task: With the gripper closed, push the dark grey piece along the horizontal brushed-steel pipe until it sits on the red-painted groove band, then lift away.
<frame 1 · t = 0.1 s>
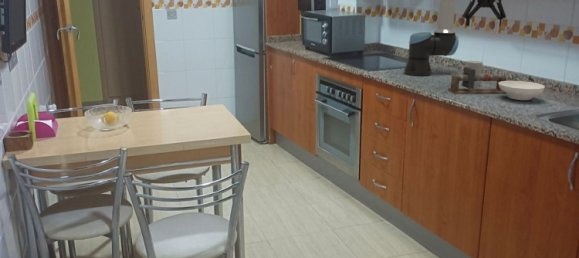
hand: (482, 33, 255), 28 cm above the kitchen counter, fingers open, 13 cm apart
dark grey piece: (468, 77, 259), point 7 cm above the kitchen counter, slide at -5.0 cm
pipe stand: (477, 92, 261), on the kitchen counter
light grey cylindrical piece: (471, 85, 279), on the kitchen counter
bowl: (519, 99, 247), on the kitchen counter
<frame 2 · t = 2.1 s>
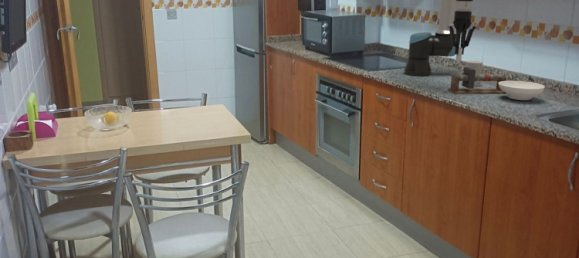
hand: (458, 61, 256), 15 cm above the kitchen counter, fingers closed
nothing on the kitchen counter moved.
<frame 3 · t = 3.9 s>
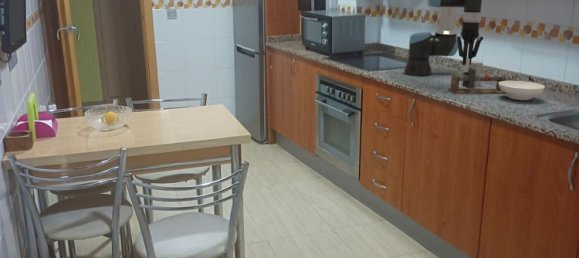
hand: (465, 71, 258), 10 cm above the kitchen counter, fingers closed
dark grey piece: (468, 77, 259), point 7 cm above the kitchen counter, slide at -4.9 cm, touching gripper
everything else where it was.
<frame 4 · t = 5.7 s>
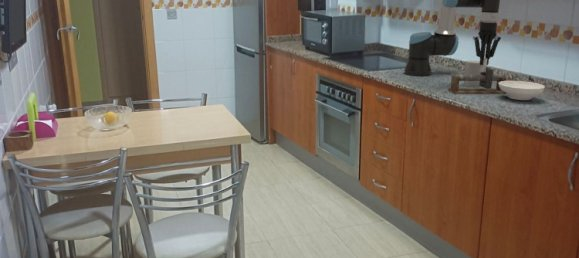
hand: (483, 71, 258), 10 cm above the kitchen counter, fingers closed
dark grey piece: (486, 77, 259), point 7 cm above the kitchen counter, slide at 3.7 cm, touching gripper
everything else where it was.
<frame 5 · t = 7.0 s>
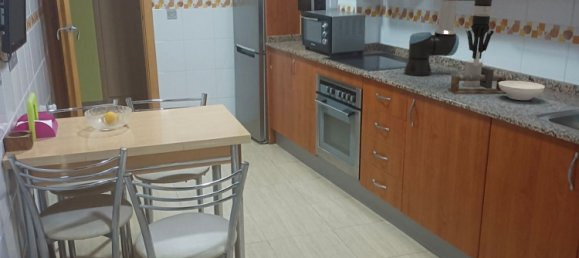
hand: (475, 65, 258), 13 cm above the kitchen counter, fingers closed
dark grey piece: (486, 77, 259), point 7 cm above the kitchen counter, slide at 3.9 cm
everything else where it was.
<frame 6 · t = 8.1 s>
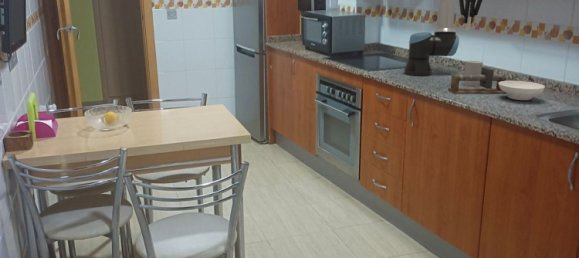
hand: (467, 30, 261), 29 cm above the kitchen counter, fingers closed
nothing on the kitchen counter moved.
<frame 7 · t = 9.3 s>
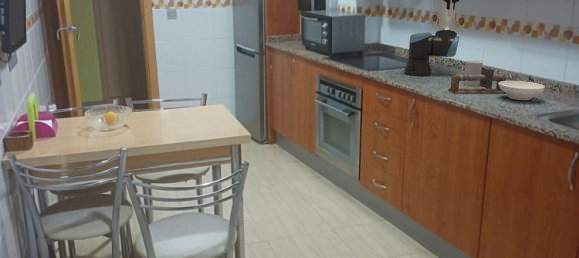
hand: (449, 16, 271), 34 cm above the kitchen counter, fingers closed
nothing on the kitchen counter moved.
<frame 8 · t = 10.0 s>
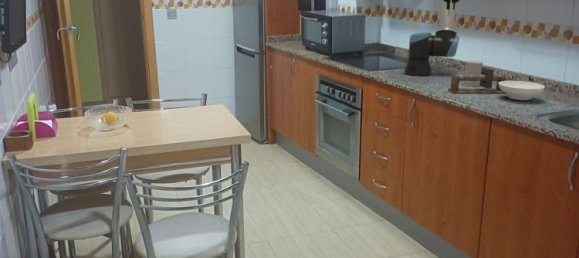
hand: (449, 16, 271), 34 cm above the kitchen counter, fingers closed
nothing on the kitchen counter moved.
at the end: dark grey piece slide at 3.9 cm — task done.
